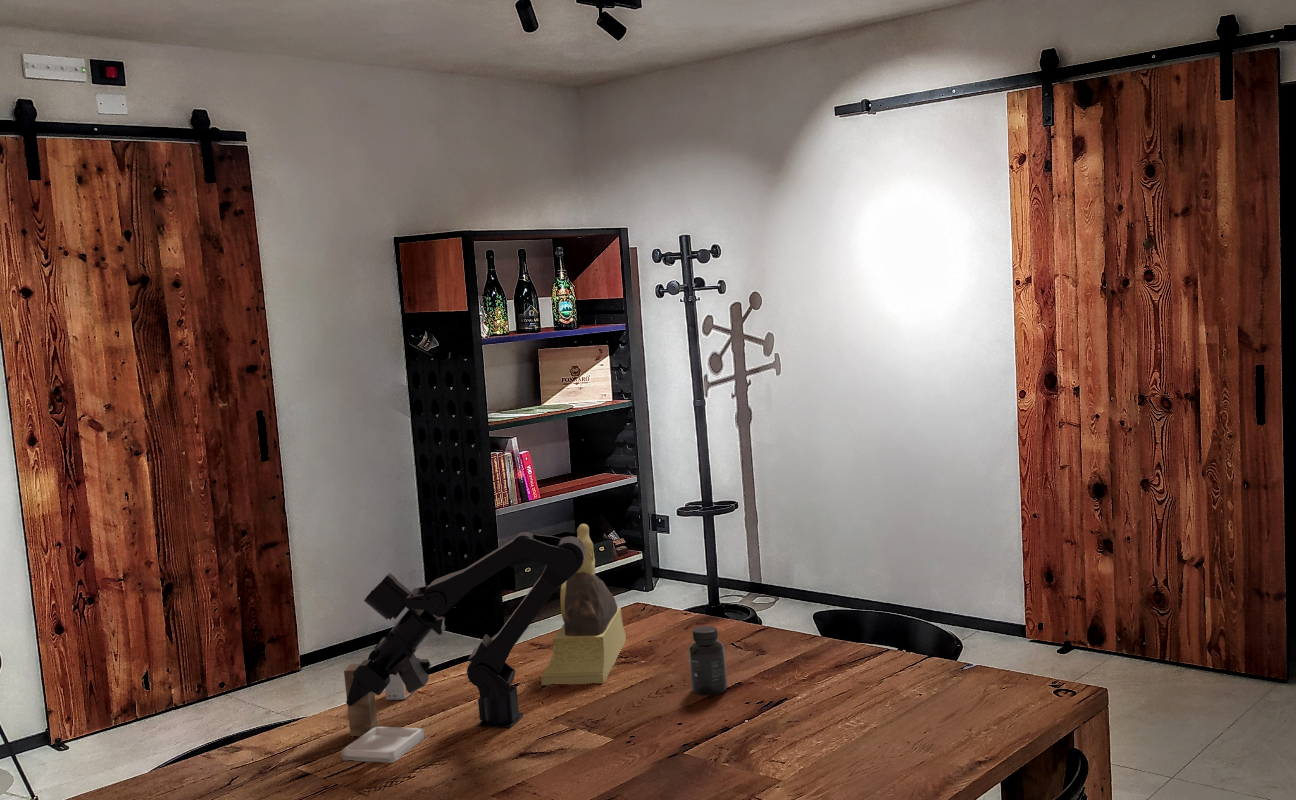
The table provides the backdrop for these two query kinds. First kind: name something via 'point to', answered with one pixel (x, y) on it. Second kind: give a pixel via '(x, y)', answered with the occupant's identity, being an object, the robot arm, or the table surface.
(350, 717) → the wooden block
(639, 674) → the table surface
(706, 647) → the supplement bottle
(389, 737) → the tray
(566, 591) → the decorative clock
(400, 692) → the skincare box
